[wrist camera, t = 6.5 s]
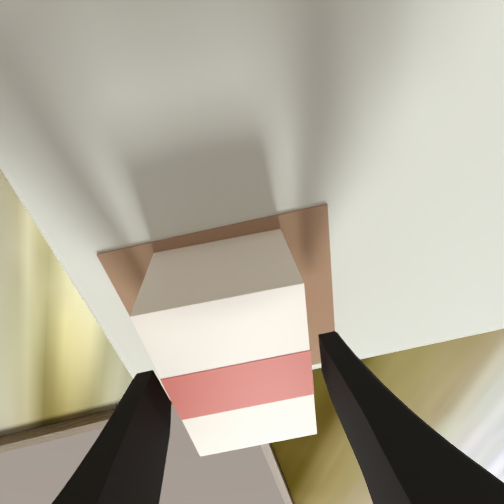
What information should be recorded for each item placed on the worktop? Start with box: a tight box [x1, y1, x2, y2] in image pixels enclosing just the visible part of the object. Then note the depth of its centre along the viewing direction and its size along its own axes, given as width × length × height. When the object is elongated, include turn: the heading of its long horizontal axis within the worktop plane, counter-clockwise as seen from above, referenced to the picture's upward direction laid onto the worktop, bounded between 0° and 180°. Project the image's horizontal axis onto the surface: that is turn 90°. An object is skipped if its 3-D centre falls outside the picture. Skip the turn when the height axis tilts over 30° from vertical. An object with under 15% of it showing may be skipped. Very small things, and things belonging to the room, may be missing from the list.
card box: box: [130, 229, 317, 457], centre depth 12 cm, size 8×5×4 cm, turn 9°
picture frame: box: [0, 400, 294, 504], centre depth 22 cm, size 19×1×28 cm
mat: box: [0, 0, 504, 399], centre depth 12 cm, size 22×18×1 cm
